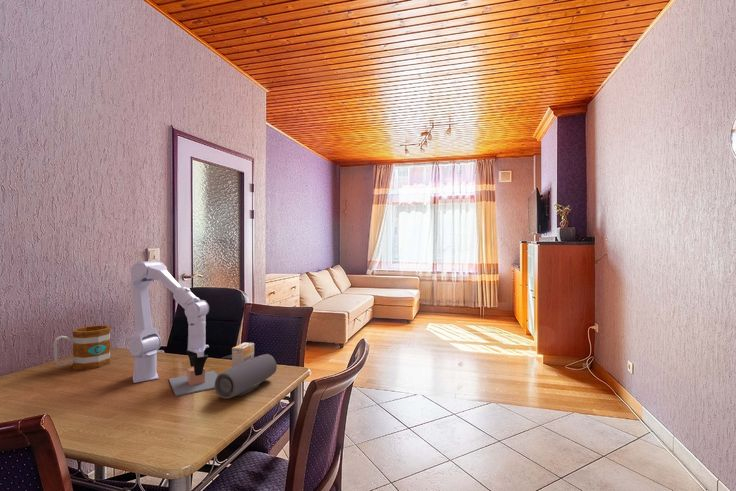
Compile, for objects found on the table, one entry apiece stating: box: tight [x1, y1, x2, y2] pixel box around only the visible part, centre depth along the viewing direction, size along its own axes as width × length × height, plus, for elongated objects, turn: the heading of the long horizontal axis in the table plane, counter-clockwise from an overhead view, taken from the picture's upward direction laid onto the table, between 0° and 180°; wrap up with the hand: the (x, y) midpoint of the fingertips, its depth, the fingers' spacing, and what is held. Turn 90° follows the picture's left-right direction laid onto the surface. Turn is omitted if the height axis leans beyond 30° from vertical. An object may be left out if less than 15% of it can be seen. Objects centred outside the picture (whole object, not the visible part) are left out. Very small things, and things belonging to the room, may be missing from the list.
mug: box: [52, 324, 112, 371], centre depth 154 cm, size 20×14×15 cm
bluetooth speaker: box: [214, 353, 278, 400], centre depth 131 cm, size 23×9×10 cm, turn 159°
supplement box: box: [231, 342, 255, 368], centre depth 140 cm, size 8×5×13 cm, turn 168°
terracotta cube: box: [187, 366, 206, 385], centre depth 136 cm, size 5×5×5 cm
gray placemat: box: [168, 370, 219, 397], centre depth 136 cm, size 18×16×1 cm
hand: (196, 371), depth 136 cm, fingers open, 7 cm apart
